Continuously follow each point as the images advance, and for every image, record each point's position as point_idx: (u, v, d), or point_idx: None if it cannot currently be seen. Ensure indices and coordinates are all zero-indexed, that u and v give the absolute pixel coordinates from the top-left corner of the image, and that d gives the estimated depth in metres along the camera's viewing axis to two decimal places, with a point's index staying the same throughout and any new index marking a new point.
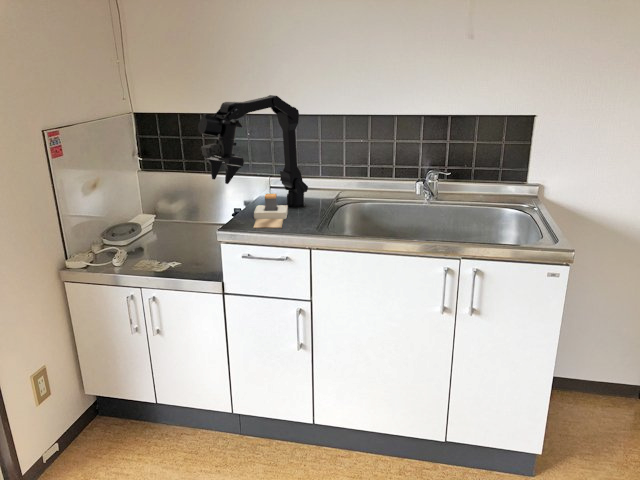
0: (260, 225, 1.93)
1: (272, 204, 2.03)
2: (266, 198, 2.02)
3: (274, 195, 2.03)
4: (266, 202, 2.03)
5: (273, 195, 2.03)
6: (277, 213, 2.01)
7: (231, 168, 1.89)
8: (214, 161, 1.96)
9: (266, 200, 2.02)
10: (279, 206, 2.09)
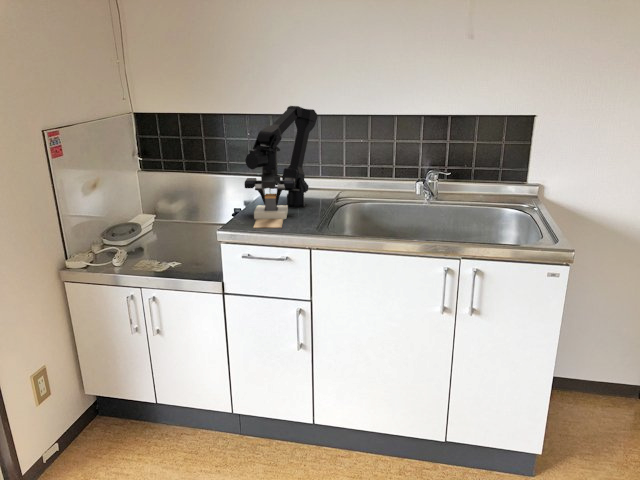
0: (260, 225, 1.93)
1: (272, 204, 2.03)
2: (266, 198, 2.02)
3: (274, 195, 2.03)
4: (266, 202, 2.03)
5: (273, 195, 2.03)
6: (277, 213, 2.01)
7: None
8: (263, 188, 2.02)
9: (266, 200, 2.02)
10: (279, 206, 2.09)
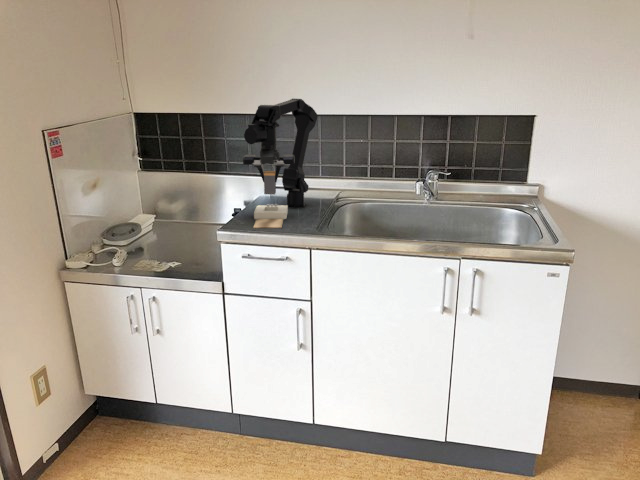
0: (260, 225, 1.93)
1: (271, 181, 2.00)
2: (265, 175, 1.99)
3: (273, 172, 2.00)
4: (265, 179, 1.99)
5: (273, 172, 2.00)
6: (277, 213, 2.01)
7: None
8: (262, 165, 1.99)
9: (265, 177, 1.99)
10: (279, 206, 2.09)
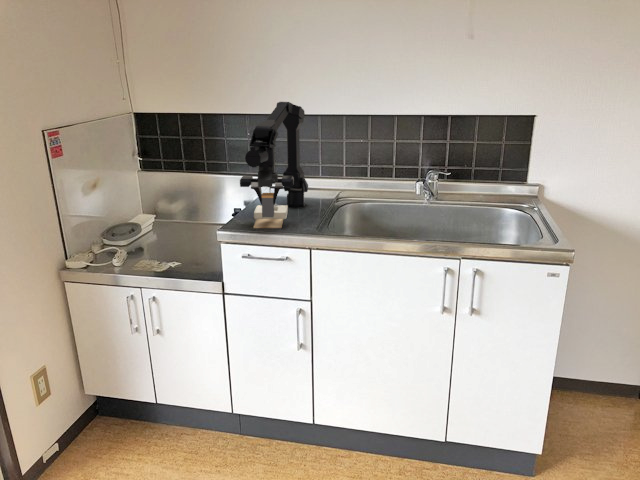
0: (260, 225, 1.93)
1: (270, 203, 1.91)
2: (263, 197, 1.91)
3: (271, 194, 1.92)
4: (263, 202, 1.91)
5: (271, 194, 1.92)
6: (277, 213, 2.01)
7: None
8: (259, 187, 1.91)
9: (263, 199, 1.91)
10: (279, 206, 2.09)
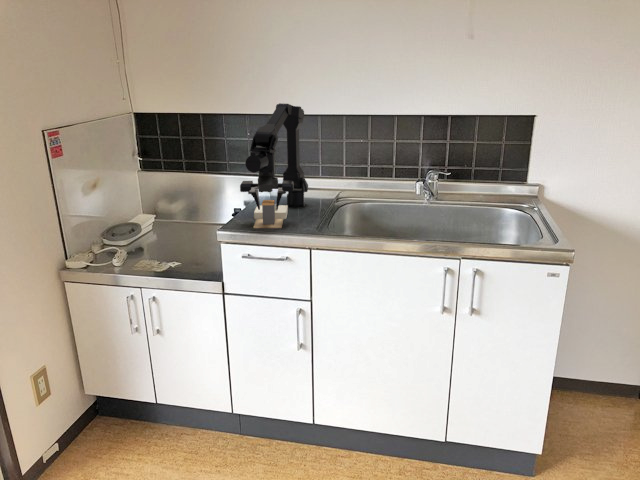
0: (260, 225, 1.93)
1: (270, 211, 1.92)
2: (263, 205, 1.92)
3: (272, 202, 1.93)
4: (263, 209, 1.92)
5: (271, 202, 1.93)
6: (277, 213, 2.01)
7: None
8: (257, 192, 1.92)
9: (263, 207, 1.92)
10: (279, 206, 2.09)
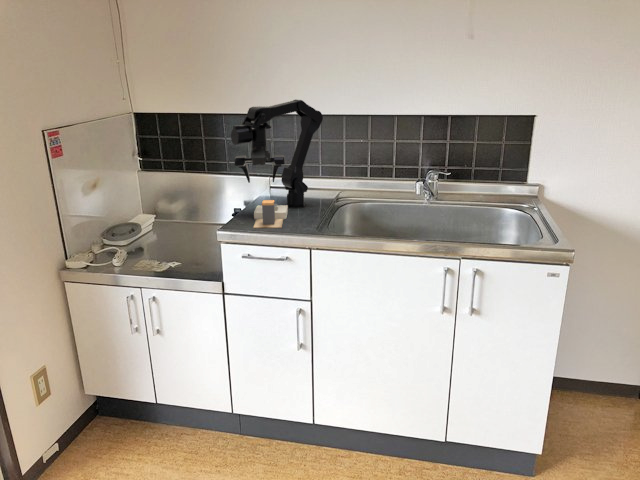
0: (260, 225, 1.93)
1: (270, 211, 1.92)
2: (263, 205, 1.92)
3: (272, 202, 1.93)
4: (263, 209, 1.92)
5: (271, 202, 1.93)
6: (277, 213, 2.01)
7: None
8: (246, 166, 2.03)
9: (263, 207, 1.92)
10: (279, 206, 2.09)
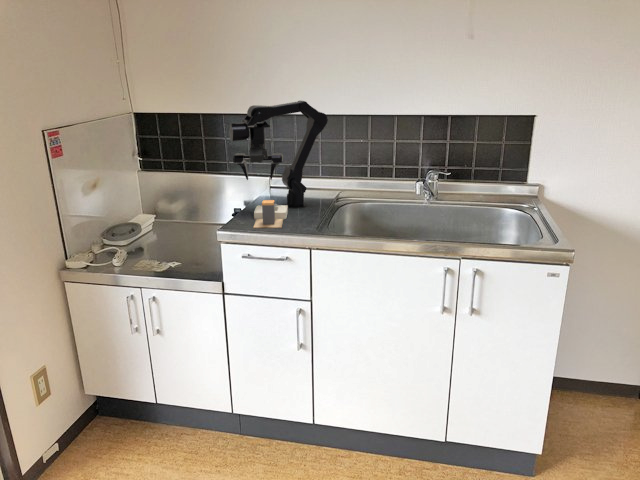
0: (260, 225, 1.93)
1: (270, 211, 1.92)
2: (263, 205, 1.92)
3: (272, 202, 1.93)
4: (263, 209, 1.92)
5: (271, 202, 1.93)
6: (277, 213, 2.01)
7: None
8: (245, 163, 2.07)
9: (263, 207, 1.92)
10: (279, 206, 2.09)
